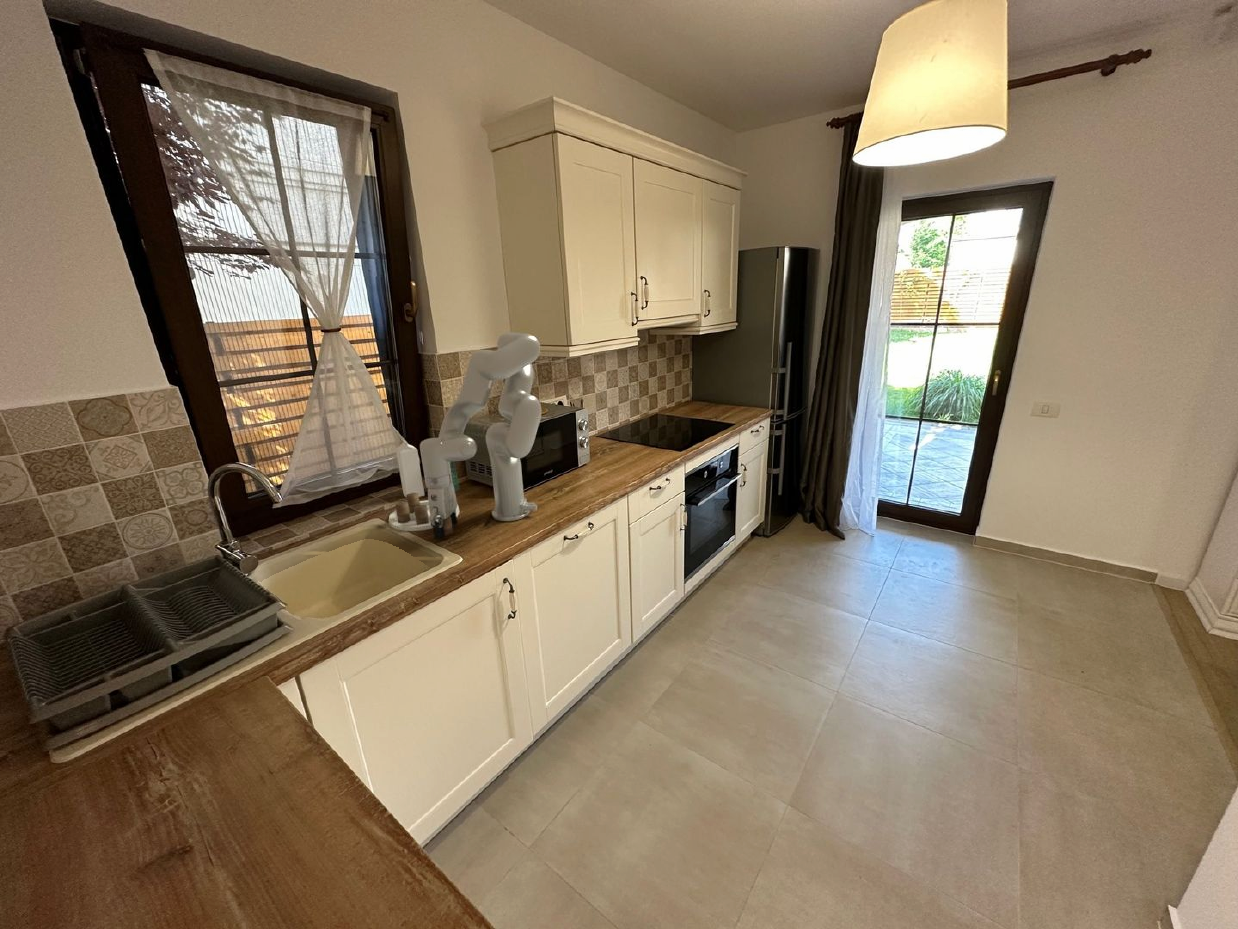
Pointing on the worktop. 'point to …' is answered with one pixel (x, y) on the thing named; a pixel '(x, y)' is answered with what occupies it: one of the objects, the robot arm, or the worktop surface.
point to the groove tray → (413, 520)
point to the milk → (409, 469)
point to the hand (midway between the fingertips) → (446, 531)
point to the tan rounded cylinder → (447, 526)
